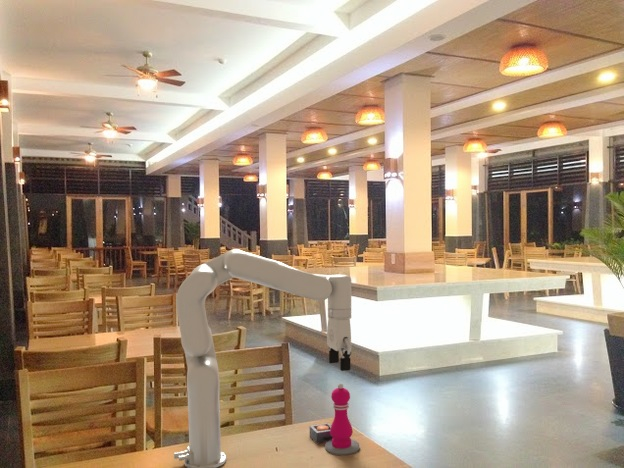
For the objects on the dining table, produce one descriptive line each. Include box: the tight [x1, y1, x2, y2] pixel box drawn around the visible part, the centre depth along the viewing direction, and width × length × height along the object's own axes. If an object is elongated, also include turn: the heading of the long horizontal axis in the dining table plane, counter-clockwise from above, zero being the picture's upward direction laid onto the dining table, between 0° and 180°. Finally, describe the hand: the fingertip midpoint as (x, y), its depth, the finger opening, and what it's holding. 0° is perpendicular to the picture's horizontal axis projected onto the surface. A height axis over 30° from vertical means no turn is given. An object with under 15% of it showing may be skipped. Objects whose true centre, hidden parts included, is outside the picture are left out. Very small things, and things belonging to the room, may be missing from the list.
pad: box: [324, 438, 360, 456], centre depth 183 cm, size 11×11×1 cm
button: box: [317, 425, 329, 431], centre depth 191 cm, size 4×4×2 cm
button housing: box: [309, 422, 333, 444], centre depth 191 cm, size 7×7×4 cm
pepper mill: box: [330, 382, 353, 449], centre depth 182 cm, size 7×7×20 cm
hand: (339, 366), depth 182 cm, fingers open, 9 cm apart
